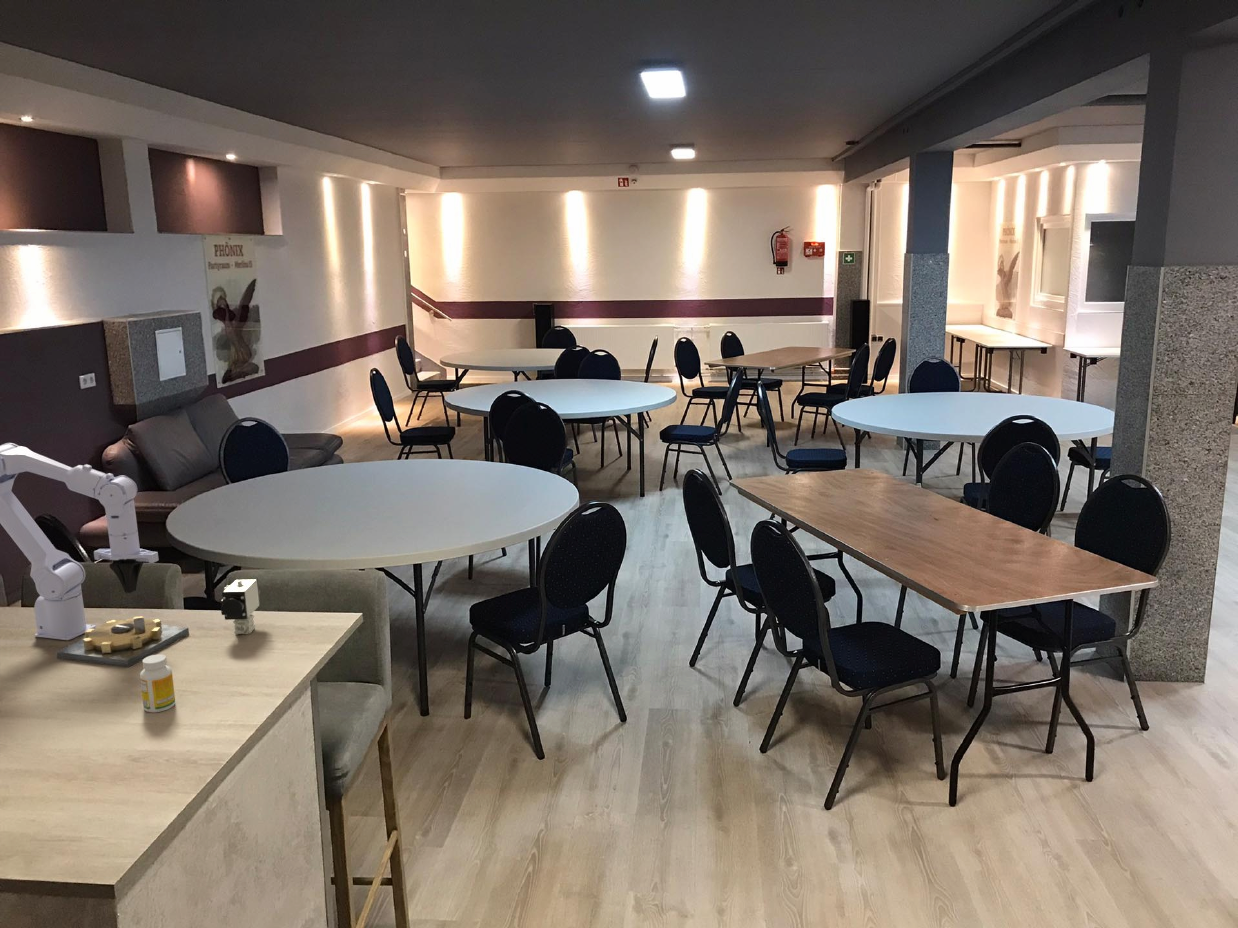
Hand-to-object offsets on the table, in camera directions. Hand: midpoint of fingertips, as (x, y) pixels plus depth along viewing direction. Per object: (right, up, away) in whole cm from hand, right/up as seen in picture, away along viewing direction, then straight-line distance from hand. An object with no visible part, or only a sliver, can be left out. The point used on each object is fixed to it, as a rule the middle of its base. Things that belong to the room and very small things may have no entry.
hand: (130, 591), depth 214 cm
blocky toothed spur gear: (+2, -9, -7) cm, 12 cm away
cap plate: (+2, -11, -6) cm, 13 cm away
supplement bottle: (+23, -17, -34) cm, 45 cm away
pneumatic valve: (+25, -9, +1) cm, 26 cm away
